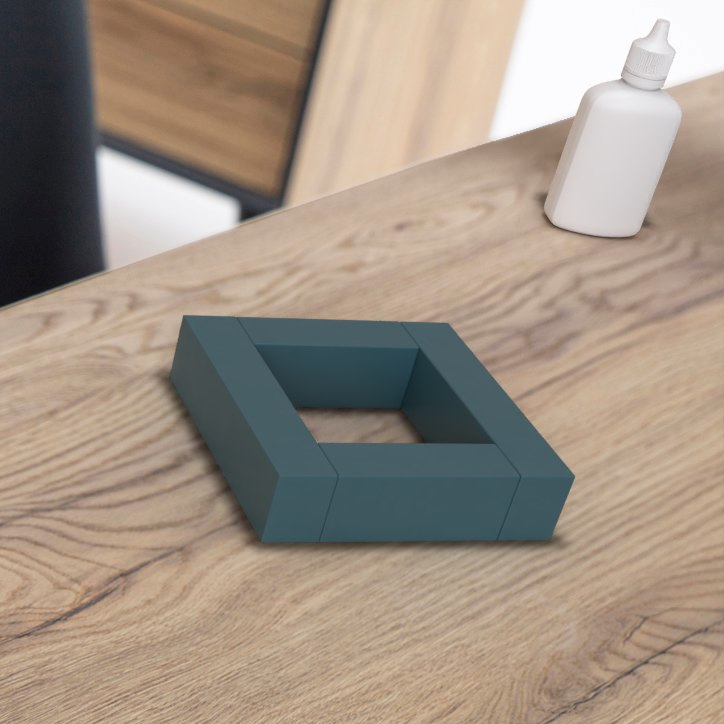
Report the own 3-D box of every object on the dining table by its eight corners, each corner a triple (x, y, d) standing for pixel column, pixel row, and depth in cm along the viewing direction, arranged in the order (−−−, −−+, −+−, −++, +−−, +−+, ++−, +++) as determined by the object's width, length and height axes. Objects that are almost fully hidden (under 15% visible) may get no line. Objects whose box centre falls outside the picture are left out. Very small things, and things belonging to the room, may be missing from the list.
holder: (423, 397, 82) (448, 321, 80) (544, 557, 73) (576, 476, 70) (165, 394, 79) (182, 314, 76) (256, 560, 69) (279, 475, 67)
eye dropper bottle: (551, 199, 105) (621, -2, 98) (642, 228, 103) (720, 26, 96) (534, 221, 102) (606, 15, 94) (627, 252, 100) (707, 44, 93)
